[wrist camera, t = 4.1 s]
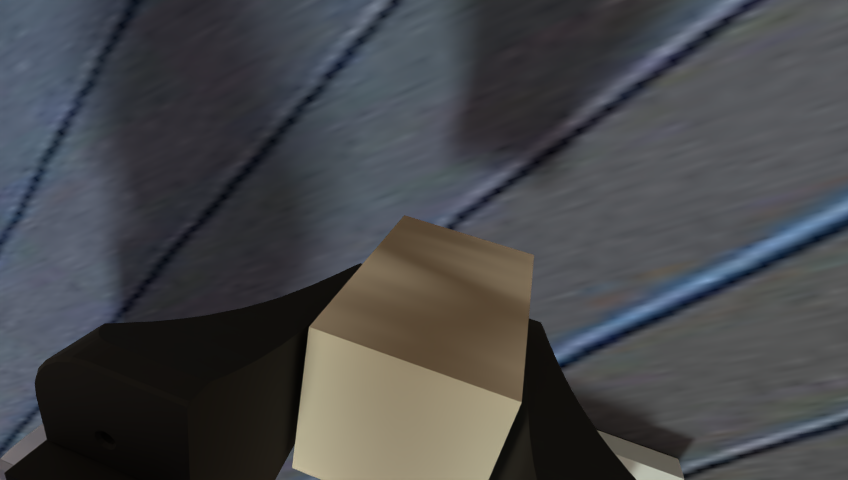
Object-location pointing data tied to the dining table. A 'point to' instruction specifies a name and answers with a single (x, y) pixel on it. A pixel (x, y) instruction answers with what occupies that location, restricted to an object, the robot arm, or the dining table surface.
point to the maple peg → (417, 361)
